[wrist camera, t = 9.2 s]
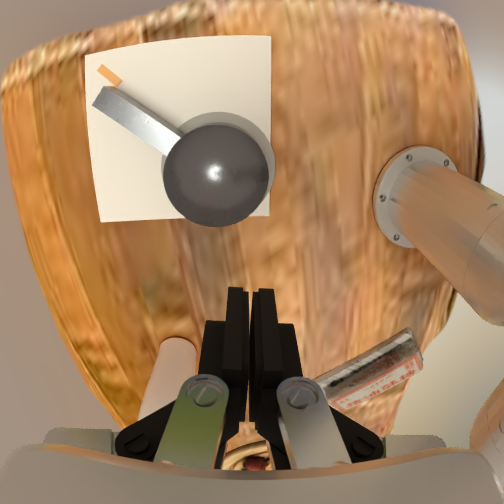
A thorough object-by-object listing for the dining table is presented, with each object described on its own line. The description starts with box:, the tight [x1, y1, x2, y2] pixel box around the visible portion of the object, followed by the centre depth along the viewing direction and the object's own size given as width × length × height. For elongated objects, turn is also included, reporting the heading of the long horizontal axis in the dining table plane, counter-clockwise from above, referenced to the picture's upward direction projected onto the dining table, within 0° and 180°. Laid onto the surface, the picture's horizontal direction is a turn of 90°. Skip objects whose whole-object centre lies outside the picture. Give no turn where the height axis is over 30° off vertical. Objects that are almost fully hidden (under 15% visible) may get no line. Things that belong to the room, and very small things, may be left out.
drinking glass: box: [137, 337, 197, 421], centre depth 35 cm, size 7×7×15 cm
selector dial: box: [92, 86, 269, 227], centre depth 26 cm, size 18×9×3 cm, turn 51°
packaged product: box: [313, 328, 423, 410], centre depth 45 cm, size 18×5×10 cm
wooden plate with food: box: [222, 440, 272, 471], centre depth 60 cm, size 32×32×8 cm
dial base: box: [85, 35, 275, 222], centre depth 27 cm, size 18×18×2 cm
